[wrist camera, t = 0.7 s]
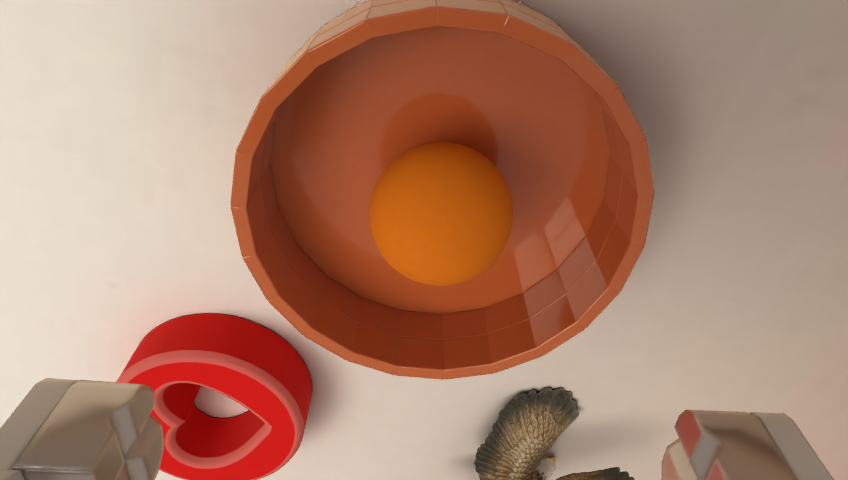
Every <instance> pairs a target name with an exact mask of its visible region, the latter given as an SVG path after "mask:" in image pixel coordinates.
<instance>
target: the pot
mask: <svg viewBox="0 0 848 480" xmlns="http://www.w3.org/2000/svg"><path fill="white" fill-rule="evenodd" d="M431 142H452V143H457V144H461V145H464V146H467V147H469V148H472V149H474V150H475V151H477V152H479V153H481V154H482V155H484V156H485V157H486V158H488V159H489V160H490V161H491V162H492V163H493V164H494V165H495V167H496V168H497V169H498V170H499V172H500V173H501V174H502V176H503V178H504V179H505V181H506V184H507V186H508V189H509V191H510V194H511V198H512V204H513V223H512V229H511V233H510V237H509V239H508V242H507V244H506V246H505V248H504V250H503V252H502V253H501V255H500V256H499V257H498V259H497V260H496V261H495V262H494V263H493V264H492V265H491V266H490V267H489V268H488V269H487V270H486V271H484V272H483V273H482V274H480V275H478V276H477V277H475V278H473V279H471V280H468V281H466V282H463V283H460V284H455V285H448V286H434V285H427V284H423V283H420V282H417V281H414V280H411V279H409V278H407V277H405V276H404V275H402V274H401V273H399V272H398V271H397V270H395V269H394V268H393V267H392V266H391V265H390V264H389V263H388V262H387V261H386V260H385V258H384V257H383V256H382V254H381V253H380V251H379V249H378V247H377V246H376V244H375V241H374V239H373V236H372V232H371V228H370V222H369V207H370V200H371V196H372V192H373V189H374V187H375V184H376V182H377V180H378V178H379V177H380V175H381V173H382V172H383V171H384V169H385V168H386V167H387V166H388V165H389V164H390V163H391V162H392V161H393V160H394V159H395V158H396V157H398V156H399V155H400V154H402V153H403V152H405V151H407V150H409V149H411V148H413V147H416V146H418V145H421V144H425V143H431ZM653 198H654V187H653V180H652V174H651V167H650V160H649V153H648V147H647V140H646V139H645V135H644V133H643V132H642V130H641V128H640V126H639V124H638V122H637V120H636V118H635V116H634V115H633V113H632V111H631V109H630V107H629V105H628V103H627V101H626V100H625V98H624V96H623V94H622V92H621V90H620V88H619V87H618V86H617V84H616V83H615V82H614V81H613V80H612V79H611V78H610V77H609V75H608V74H607V73H606V72H605V71H604V70H603V69H602V68H601V67H600V65H599V64H598V63H597V62H596V61H595V60H594V59H593V58H592V57H591V56H590V55H589V54H588V53H587V52H586V51H585V50H584V49H583V48H582V47H581V46H580V45H579V44H578V43H577V42H575V41H574V39H573V38H571V37H570V36H569V35H568V34H567V33H566V32H565V31H564V30H563V29H561V28H560V27H559V26H558V25H557V24H556V23H555V22H554V21H553V20H552V19H550V18H548V17H547V16H545V15H543V14H541V13H538V12H537V11H535V10H534V9H532V8H530V7H528V6H526V5H523V4H521V3H519V2H517V1H515V0H369V1H367V2H364V3H362V4H360V5H358V6H356V7H353V8H351V9H349V10H348V11H346V12H345V13H343V14H341V15H340V16H338V17H337V18H335V19H334V20H332V21H330V22H329V23H327V24H325V25H324V26H323V27H321V28H320V29H319V30H318V31H317V32H316V33H315V34H314V35H313V36H312V37H311V38H310V39H309V40H308V41H307V42H306V43H305V45H304V46H303V47H302V48H301V49H300V50H299V51H298V52H297V53H296V54H295V55H294V56H293V57H292V58H291V60H290V61H289V62H288V63H287V64H286V65H285V66H284V67H283V69H282V70H281V71H280V73H279V74H278V75H277V77H276V78H275V80H274V81H273V82H272V83H271V85H270V86H269V87H268V89H267V90H266V92H265V93H264V94H263V96H262V97H261V99H260V100H259V102H258V105H257V107H256V109H255V111H254V113H253V115H252V117H251V120H250V122H249V124H248V126H247V128H246V130H245V133H244V135H243V137H242V139H241V141H240V143H239V145H238V148H237V150H236V154H235V164H234V174H233V184H232V194H231V204H230V205H231V211H232V215H233V219H234V224H235V228H236V232H237V237H238V241H239V246H240V250H241V254H242V256H243V259H244V261H245V263H246V265H247V266H248V268H249V270H250V271H251V273H252V275H253V277H254V278H255V280H256V282H257V284H258V285H259V287H260V289H261V290H262V292H263V294H264V296H265V297H266V299H267V300H268V301H269V303H270V304H271V305H272V306H273V307H274V308H275V309H276V310H277V311H279V312H280V313H281V314H282V315H283V316H284V317H285V318H286V319H287V320H288V321H289V322H290V323H291V324H292V325H293V326H294V327H295V328H296V329H297V330H298V331H299V332H300V333H301V334H302V335H304V336H305V337H307V338H308V339H310V340H312V341H313V342H315V343H317V344H319V345H320V346H322V347H324V348H326V349H327V350H329V351H331V352H333V353H334V354H336V355H338V356H339V357H341V358H343V359H345V360H348V361H349V362H353V363H356V364H359V365H362V366H366V367H369V368H372V369H375V370H379V371H382V372H385V373H389V374H392V375H396V376H408V377H420V378H432V379H453V378H461V377H469V376H477V375H484V374H492V373H494V372H495V373H497V372H499V371H502V370H505V369H508V368H511V367H513V366H516V365H519V364H522V363H525V362H528V361H530V360H533V359H536V358H539V357H541V356H542V355H543V356H544V355H545V354H547V353H548V352H550V351H552V350H553V349H555V348H556V347H558V346H559V345H561V344H563V343H564V342H566V341H567V340H569V339H570V338H572V337H574V336H575V335H577V334H578V333H580V332H581V331H583V330H584V329H585V328H587V327H588V326H589V325H590V323H591V322H592V321H593V320H594V319H595V318H596V317H597V316H598V315H599V314H600V313H601V312H602V311H603V310H604V309H605V308H606V307H607V306H608V304H609V303H610V302H611V301H612V300H613V299H614V298H615V297H616V296H617V295H618V294H619V293H620V291H621V290H622V288H623V286H624V284H625V282H626V280H627V279H628V277H629V275H630V273H631V271H632V269H633V267H634V265H635V263H636V261H637V260H638V258H639V256H640V254H641V252H642V250H643V248H644V245H645V241H646V236H647V230H648V225H649V219H650V214H651V209H652V203H653Z"/></svg>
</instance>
